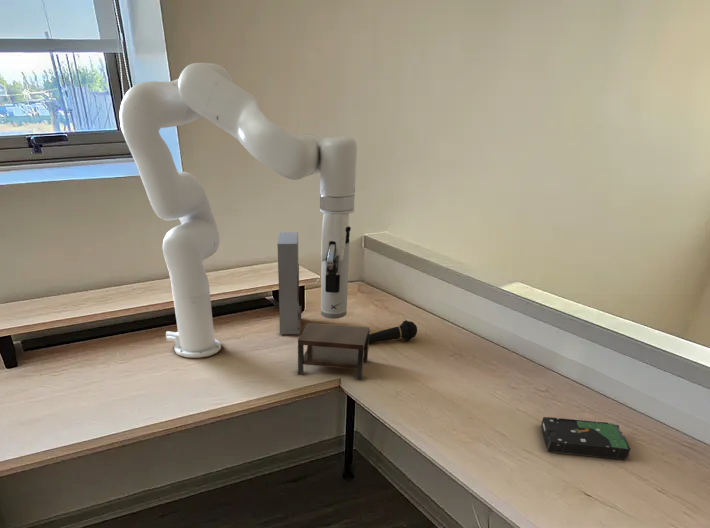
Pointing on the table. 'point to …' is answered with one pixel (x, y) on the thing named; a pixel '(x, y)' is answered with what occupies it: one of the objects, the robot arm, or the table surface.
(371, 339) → the microphone
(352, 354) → the plate
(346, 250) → the travel mug
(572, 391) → the table surface
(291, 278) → the tall grey pillar
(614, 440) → the disk drive
